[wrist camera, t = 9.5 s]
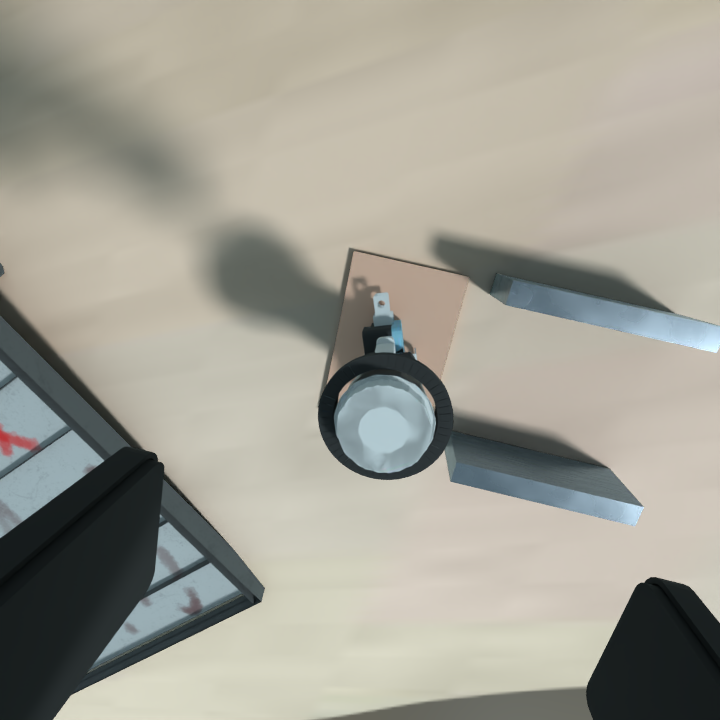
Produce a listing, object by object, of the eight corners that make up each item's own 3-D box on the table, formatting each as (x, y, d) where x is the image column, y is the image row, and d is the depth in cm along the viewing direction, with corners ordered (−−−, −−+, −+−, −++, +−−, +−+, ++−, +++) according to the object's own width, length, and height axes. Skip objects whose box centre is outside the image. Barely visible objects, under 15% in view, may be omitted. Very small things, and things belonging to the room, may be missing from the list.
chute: (676, 313, 24) (728, 328, 20) (602, 485, 27) (634, 526, 23) (496, 273, 24) (513, 280, 20) (444, 447, 27) (450, 481, 23)
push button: (337, 297, 25) (295, 334, 16) (430, 285, 24) (446, 316, 15) (353, 404, 27) (325, 497, 17) (440, 396, 26) (461, 488, 17)
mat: (469, 276, 24) (469, 277, 24) (424, 434, 27) (424, 437, 27) (354, 250, 25) (353, 251, 24) (321, 410, 27) (321, 412, 27)
